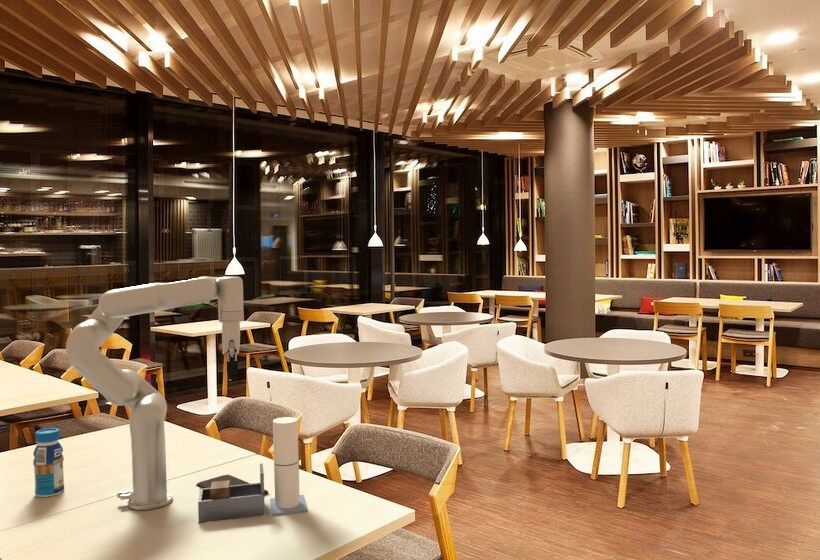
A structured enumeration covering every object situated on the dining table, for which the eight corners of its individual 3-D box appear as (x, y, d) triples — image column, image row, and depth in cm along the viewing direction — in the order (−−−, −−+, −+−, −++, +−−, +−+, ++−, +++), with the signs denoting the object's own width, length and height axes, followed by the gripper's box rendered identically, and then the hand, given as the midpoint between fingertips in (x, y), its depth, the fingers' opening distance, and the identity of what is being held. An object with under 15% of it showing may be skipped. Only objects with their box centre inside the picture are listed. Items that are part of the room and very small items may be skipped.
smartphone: (228, 473, 221) (270, 490, 204) (228, 477, 221) (270, 495, 204) (194, 482, 212) (235, 501, 195) (194, 487, 212) (235, 506, 195)
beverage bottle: (30, 493, 207) (28, 431, 206) (59, 486, 213) (56, 425, 212) (39, 500, 201) (37, 435, 200) (69, 492, 207) (66, 430, 207)
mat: (272, 515, 186) (272, 513, 186) (270, 500, 198) (270, 498, 198) (307, 511, 189) (307, 509, 189) (303, 496, 201) (303, 494, 201)
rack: (198, 523, 182) (197, 480, 182) (200, 508, 192) (199, 468, 192) (264, 515, 187) (263, 474, 186) (263, 502, 197) (262, 462, 196)
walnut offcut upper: (210, 502, 185) (210, 489, 185) (212, 495, 191) (211, 481, 191) (229, 501, 186) (228, 487, 186) (230, 493, 192) (229, 480, 192)
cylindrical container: (270, 506, 192) (267, 422, 191) (283, 497, 198) (281, 416, 197) (291, 509, 189) (288, 424, 188) (304, 501, 196) (302, 418, 194)
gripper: (219, 314, 209) (220, 367, 210) (217, 319, 193) (219, 377, 193) (243, 313, 211) (244, 366, 212) (244, 318, 194) (245, 376, 195)
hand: (232, 371), depth 203 cm, fingers open, 9 cm apart
